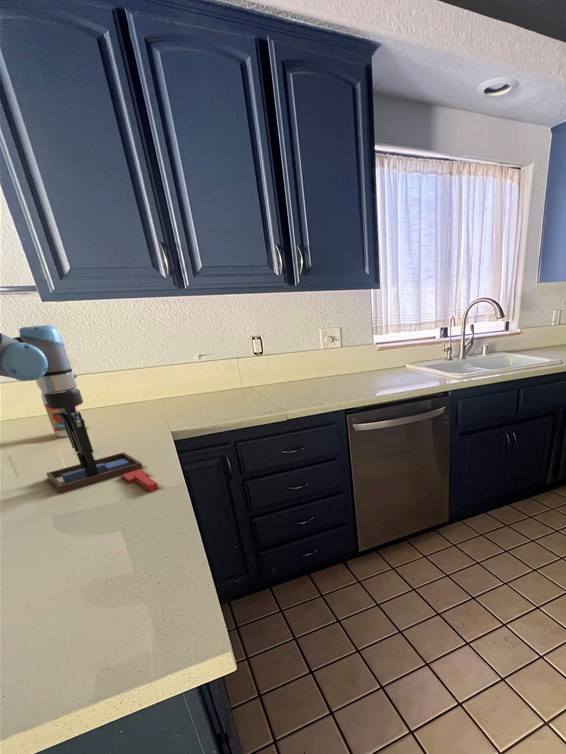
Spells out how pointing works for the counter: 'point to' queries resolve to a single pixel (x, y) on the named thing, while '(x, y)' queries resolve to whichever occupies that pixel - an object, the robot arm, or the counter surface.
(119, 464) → the blue stepped block
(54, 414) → the fruit juice
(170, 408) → the counter surface
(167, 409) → the counter surface
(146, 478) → the red t-shaped block
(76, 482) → the tray
